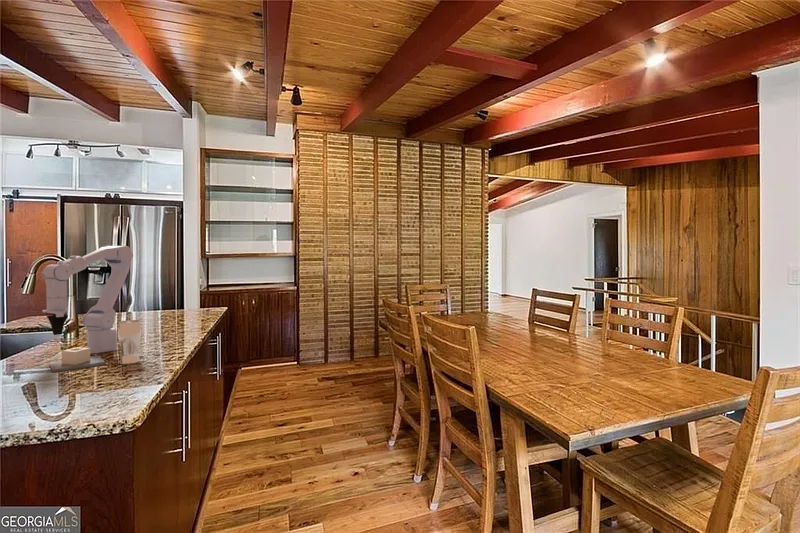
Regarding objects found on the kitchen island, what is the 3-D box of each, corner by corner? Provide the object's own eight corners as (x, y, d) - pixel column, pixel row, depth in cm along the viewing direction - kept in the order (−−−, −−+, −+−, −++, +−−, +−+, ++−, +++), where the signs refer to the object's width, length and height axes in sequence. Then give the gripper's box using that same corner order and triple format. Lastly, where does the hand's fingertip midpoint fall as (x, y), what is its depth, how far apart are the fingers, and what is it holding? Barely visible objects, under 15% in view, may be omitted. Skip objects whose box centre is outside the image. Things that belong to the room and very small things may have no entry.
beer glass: (145, 360, 149) (145, 320, 148) (131, 365, 142) (130, 323, 141) (128, 359, 149) (128, 319, 149) (113, 364, 142) (112, 322, 142)
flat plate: (98, 358, 150) (98, 346, 150) (105, 364, 142) (105, 352, 142) (49, 365, 140) (49, 352, 140) (53, 372, 132) (53, 359, 132)
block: (77, 359, 144) (77, 347, 144) (90, 360, 143) (90, 348, 143) (61, 363, 139) (61, 350, 139) (75, 364, 138) (75, 351, 138)
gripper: (39, 296, 147) (40, 333, 147) (44, 300, 137) (45, 339, 137) (64, 295, 152) (65, 330, 152) (71, 298, 142) (71, 336, 142)
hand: (57, 334), depth 145 cm, fingers closed
